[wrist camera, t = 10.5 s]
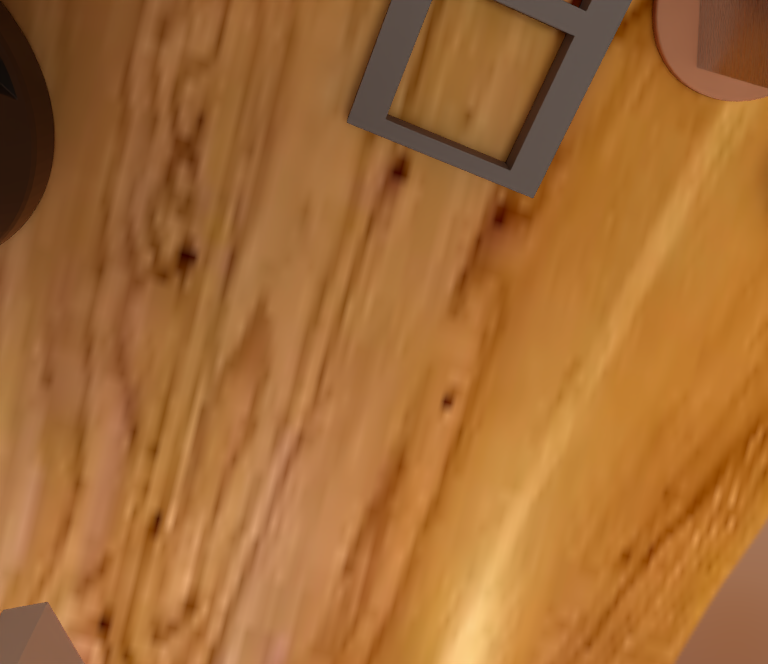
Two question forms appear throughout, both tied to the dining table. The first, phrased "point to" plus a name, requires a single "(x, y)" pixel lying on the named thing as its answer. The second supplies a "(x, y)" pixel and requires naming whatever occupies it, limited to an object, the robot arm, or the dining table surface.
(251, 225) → the dining table surface
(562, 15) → the grey double frame
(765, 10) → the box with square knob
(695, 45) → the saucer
